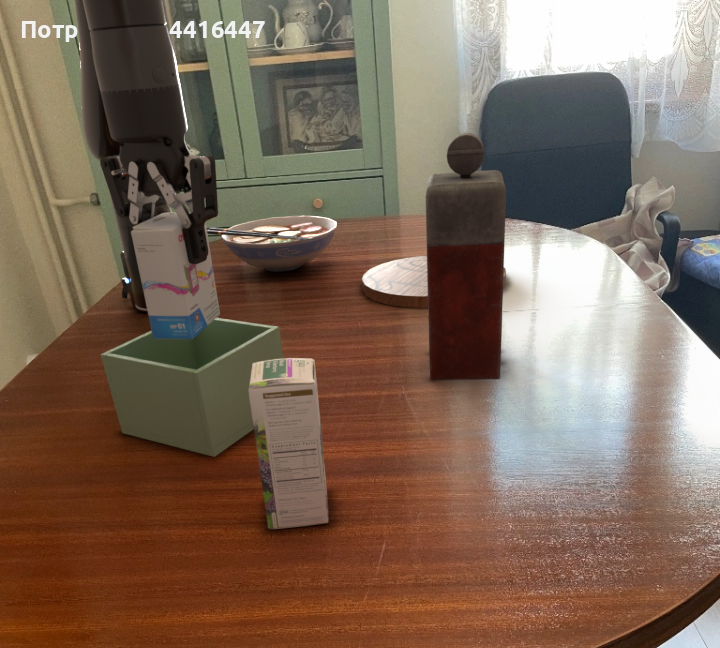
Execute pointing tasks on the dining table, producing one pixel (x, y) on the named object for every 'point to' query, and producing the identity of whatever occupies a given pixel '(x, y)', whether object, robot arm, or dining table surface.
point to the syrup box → (289, 441)
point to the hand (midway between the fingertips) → (175, 259)
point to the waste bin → (190, 384)
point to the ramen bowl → (279, 241)
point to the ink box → (173, 279)
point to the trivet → (400, 282)
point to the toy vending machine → (465, 265)
